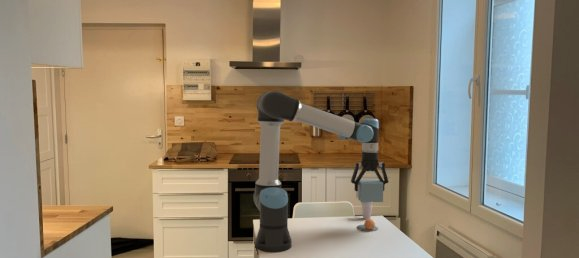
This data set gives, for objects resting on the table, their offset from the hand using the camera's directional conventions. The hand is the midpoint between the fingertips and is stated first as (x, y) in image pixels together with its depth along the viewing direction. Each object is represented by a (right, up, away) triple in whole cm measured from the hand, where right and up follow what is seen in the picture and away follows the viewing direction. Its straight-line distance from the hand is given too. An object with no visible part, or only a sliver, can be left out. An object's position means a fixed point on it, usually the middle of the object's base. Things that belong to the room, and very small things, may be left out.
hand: (369, 197), depth 195 cm
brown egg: (0, -13, 0) cm, 13 cm away
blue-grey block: (0, -1, 0) cm, 1 cm away
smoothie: (+2, -14, +19) cm, 23 cm away
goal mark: (0, -15, +2) cm, 15 cm away
